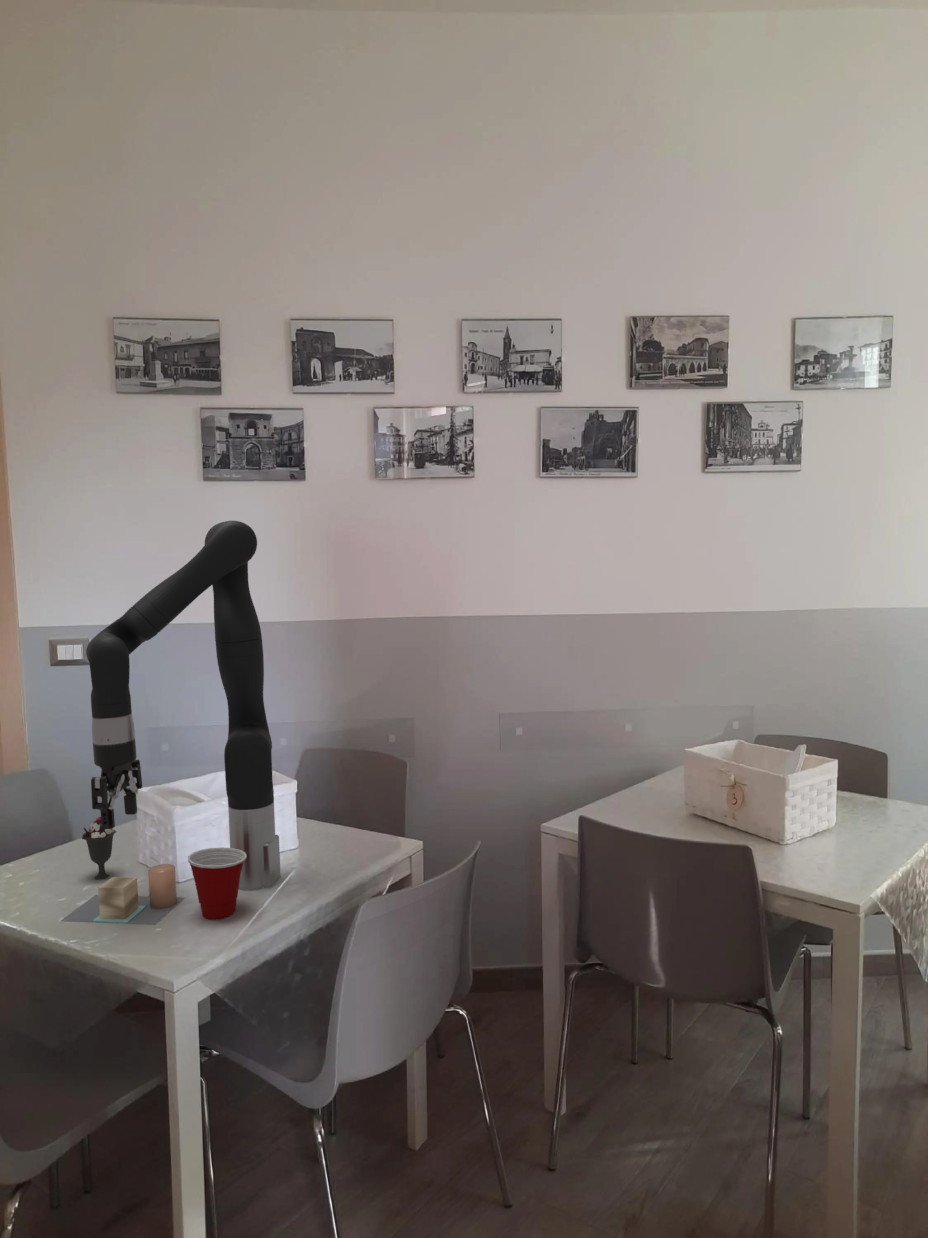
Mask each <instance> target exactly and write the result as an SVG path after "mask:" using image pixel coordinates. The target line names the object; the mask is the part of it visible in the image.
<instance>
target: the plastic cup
mask: <svg viewBox="0 0 928 1238" xmlns="http://www.w3.org/2000/svg"><path fill="white" fill-rule="evenodd" d="M246 857H247V856H246V853H245V852H243V851H242V850H238V849H234V848H230V847H209V848H205V849H199V850H196V851H194V852H192V853H190V854H189V855H188V856H187V862H188V863H189V865H190V868H191V873H192V877H193V878H194V885H195V890H196V894H197V899H198V903H199V904H200V910H201V914H202V917H203V918H205V919H206V920H223V919H226V918H228V917H230V916H233V915H234V913H235V912H236V908H237V898H238V894H239V881H240V874H241V870H242V866H243V863H244V861H245V859H246Z"/></svg>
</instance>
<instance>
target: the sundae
mask: <svg viewBox="0 0 928 1238" xmlns="http://www.w3.org/2000/svg"><path fill="white" fill-rule="evenodd" d="M82 829H83V830H84V833H82V836H81V839H82V840H85V841H86V844H87V848H88V855H89V857H90V860H91V861H92V862H93V863H94V864H96V865H98V866H97V867H98V873H97V874H96V875H95V877H94V880H105V879H108V878H109V877H110V874H108V873H107V872H106V870H105V869H106V868H105V866H106V865H105V864H106V863H107V862H108V861H109V860H110V858H111V857H112V852H113V851H112V850H113V841H114V835H115V834H116V833H117V831H116V830H115V829H114V828H112V829H103V828H102V823H101V816H98V817H97V818H96V819H95V820H94V821H92V823H90V825H89V826H88V830H87V829H86V827H85V826H84V827H83V828H82Z"/></svg>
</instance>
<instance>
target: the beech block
mask: <svg viewBox="0 0 928 1238" xmlns="http://www.w3.org/2000/svg"><path fill="white" fill-rule="evenodd" d="M97 888H98V889H97V891H98V894H97V895H99V910H100V919H126V918H127V917H128V916H130V915H131V914H132V913H133V912H134V911H136V910H137V909H138V908H139V907H138V896H139V891H138V878H137V877H123V876H122V877H118V876H115V877H113V876H112V877H110V878H109V879H107V880H106V881H105V882H104V883H102V884H101V885H100V886H98V887H97Z"/></svg>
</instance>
